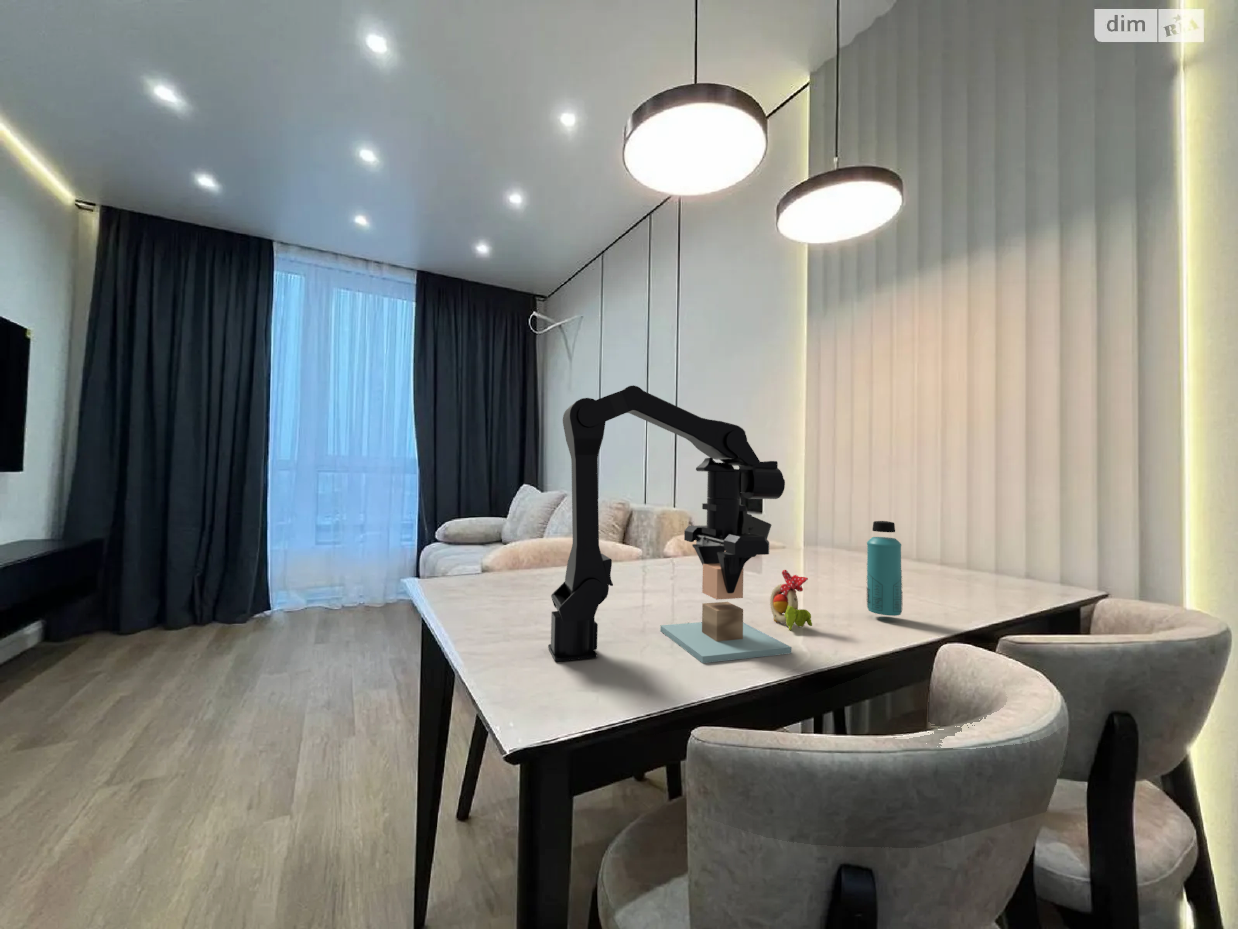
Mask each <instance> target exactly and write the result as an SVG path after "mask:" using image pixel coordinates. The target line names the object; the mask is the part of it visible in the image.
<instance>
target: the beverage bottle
mask: <svg viewBox="0 0 1238 929" xmlns="http://www.w3.org/2000/svg"><path fill="white" fill-rule="evenodd" d="M872 531H873V532H877V533H879V532H880V533H896V526H895V522H893V521H887V520H875V521H873V522H872ZM866 545H867V548H866V549H867V551H866V552H867V554H866V555H867V557H866V561H867V562H866V574H867V575H866V581H865V582H866V585H867V586H866V607H867V609H868V611H869V612H871V613H873V614H876V615H877V614H878V615H881V616H889V617H891V616H892V617H893V616H894V617H895V616H896V617H897V616H901V615H902V612H903V600H904V599H903V573H902V572H903V571H902V543H901V542H900V541H899V540H898V539H896V538H894V537H886V536H873V537H871V538H870V539H868V541H867V542H866Z"/></svg>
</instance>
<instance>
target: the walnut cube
mask: <svg viewBox="0 0 1238 929" xmlns="http://www.w3.org/2000/svg"><path fill="white" fill-rule="evenodd" d="M701 613H702V614H701V622H702V633H704V634H705V635H707V636H709V637H710V638H712V639H713V640H715V641H716V642H717V641H728V640H738V639H743V622H744V608H742V607H739V606H738V605H735V604H733V603H731V602H729V601H719V602H718V601H717V602H705V603H704V602H703V603H702V610H701Z"/></svg>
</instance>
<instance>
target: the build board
mask: <svg viewBox="0 0 1238 929" xmlns="http://www.w3.org/2000/svg"><path fill="white" fill-rule="evenodd" d="M659 627H660V628H659V629H660V630H659V631H660V632H661V633H662V634H664V635H665V636H666V637H668V639H670V640H672V641H673V642H674V643H675V644H677V645H678V646H679V647H680V648H682V649H683V650H685V651H686V652H687V653H689V654H690V655H691V656H692V657H694V658H695V659H696V660H697V661H699V662H700V663H701V664H707V663H718V662H723V661H724V662H725V661H733V660H745V659H753V658H763V657H771V656H779V654H782V655H790V654H792V646H790V645H788V644H786V643H784V642H783V641H780V640H778V639H777V638H775V637H773V636H771V635H769V634H767V633H766V632H763V631H760V630H759V629H757V628H756V627H753V626H751V625H750V624H747V623H746V622H744V621H743V639H738V640H728V641H717V642H716V641H715V640H713V639H712V638H710V637H709V636H707V635H705V634H704V633H702V621H699V622H688V623H687V622H685V623H674V624H661V625H660V626H659Z"/></svg>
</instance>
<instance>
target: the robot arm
mask: <svg viewBox="0 0 1238 929" xmlns="http://www.w3.org/2000/svg"><path fill="white" fill-rule="evenodd" d="M625 414H630V415H632V416H635V417H637V418H639V419H641V420H644V421H646V422H647V423H650V424H652V425H654V426H657V427H659V428H661V429H663V430H666V431H668V432H671V433H672V434H675V435H677V436H680V437H681V438H684V439H685V440H687V441H689V443H691V444H692V445H693V446H694V447H695V448H696V449H697V450H698V451H700V452H701V453H703V454H704V455H706V456H707V457H706V458H705V457H704V460H703V461H702V462H701V463H700V464H699V465H697V467H696V468H695V471H696V472H707V484H706V485H707V487H706V488H707V491H706V493H707V494H706V497H707V498H706V503H701V505H702V506H701V509H702V510H706V525H687V527H686V528H685V529H684V534H683V536H684V537H683V538H684V542H685V541H686V542H689V543H694V541H695V543H696V544H695V543H694V544H692V548H694V550H695V552H696V554H697V556H698V559H699V560H700V563H701V564H702V565H701V566H703V564H716V563H720V567H721V571H722V575H723V579H724V584H725V587H726V590H727V593H734V591H735V588H736V585H737V582H738V580H739V577H740V574H741V571H742V569H743V570H744V567H745V565H746V563H747V562H748V561H749V560H750V559H751V558H755V557H757V556H758V555H760V556H762V555H770V541H769V540H768V537H769V533H770V531H771V528H772V524H771V523H770V522H767V521H765V520H762V519H760V518H758V517H756V516H752V514H751V513H748V507H747V506H746V504H741V503H742V496H743V497H744V498H745V499H748V500H751V499H753V500H755V499H756V500H778V499H780V498H781V496H782V495H783V493H784V491H785V488H786V480H785V479H784V475H783V473H782V471H781V469H780V468H778V467H779V464H778V461H777V460H766V461H761V460H760V459H759V457H758V455H757V454H756V453H755V451H754V450H753V448H752V447H751V444H750V443H749V441H748V436H747V434H746V431H745V429H744V428H743V427H741V426H740V425H737V424H733V423H729V422H725V421H722V420H716V419H710V418H709V419H708V418H706V417H705V418H704V417H701V416H698V415H696V414H695V413H692V412H690V411H688V410H686V409H684V408H681V407H679V406H677V405H675V404H673V403H671V402H668V401H666V400H664V399H662V398H660V397H658V396H656V395H653V394H651V393H649V392H647V391H645V390H643V389H642V388H641V387H640V386H638V385H633V384H632V385H628V386H627V387H625V388H623V389H621V390H619V391H617V392H614V393H611V394H607V395H606V396H603V397H601V398H598V399H594V398H590V397H584V398H579V399H578V400H576V401H575V402H574V403H572V404H571V405H570V406H569V407H568V408H566V409H565V411H564V412H563V416H562V427H563V430H564V436H565V441H566V445H567V448H568V451H569V454H570V458H571V515H572V516H571V518H572V519H571V520H572V521H571V522H572V545H571V550H570V553H569V556H568V559H567V566H566V570H565V571H566V572H565V576H564V581H563V582H562V583H561V584H560V585H559V586H558V587H557V589H556V590H554V591H553V592H552V593H551V595H550V598H551V601H552V604H553V606H554V608H555V609H556V611H551V622H550V626H551V628H550V644H547V645H548V646H547V648H548V651H549V652H550V654H551V656H552V658H553V660H554V661H555V662H565V661H574V660H575V661H576V660H587V659H595V658H597V657H598V654H597V652H596V650H598V628H599V626H598V625H599V623H597V622H596V620H595V616H596V613H597V610H598V608H599V605H601V604H602V603H603V602H604V601H605V599H607V597H608V595H609V590H610V589H609V588H610V587H613V586H614V584H613V581H612V577H611V576H612V575H611V572H612V567H613V566H612V565H613V563H612V562H613V560H612V558H610V557H608V556H607V555H605V554H603V553H602V552H601V549H600V538H599V537H600V536H599V535H600V532H599V531H600V530H599V529H600V528H599V526H600V525H599V521H600V520H599V473H598V472H599V467H598V466H599V465H598V464H599V460H598V459H599V458H598V457H599V454H600V450H601V446H602V444H603V440H604V435H605V429H606V422H607V421H610V420H613V419H614V418H618V417H620V416H622V415H625ZM715 460H717V461H718V460H719V461H720V462H716V461H715ZM735 467H738V468H735ZM609 586H610V587H609Z"/></svg>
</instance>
